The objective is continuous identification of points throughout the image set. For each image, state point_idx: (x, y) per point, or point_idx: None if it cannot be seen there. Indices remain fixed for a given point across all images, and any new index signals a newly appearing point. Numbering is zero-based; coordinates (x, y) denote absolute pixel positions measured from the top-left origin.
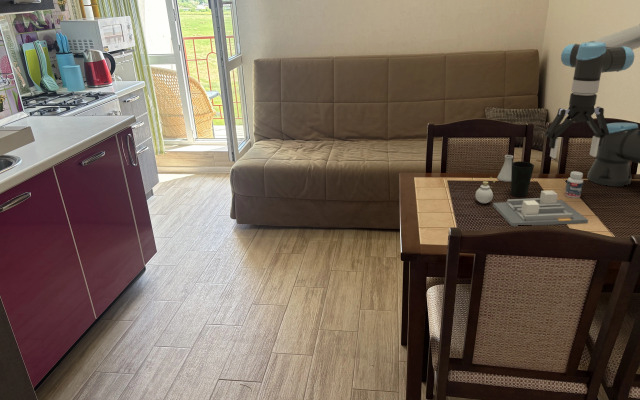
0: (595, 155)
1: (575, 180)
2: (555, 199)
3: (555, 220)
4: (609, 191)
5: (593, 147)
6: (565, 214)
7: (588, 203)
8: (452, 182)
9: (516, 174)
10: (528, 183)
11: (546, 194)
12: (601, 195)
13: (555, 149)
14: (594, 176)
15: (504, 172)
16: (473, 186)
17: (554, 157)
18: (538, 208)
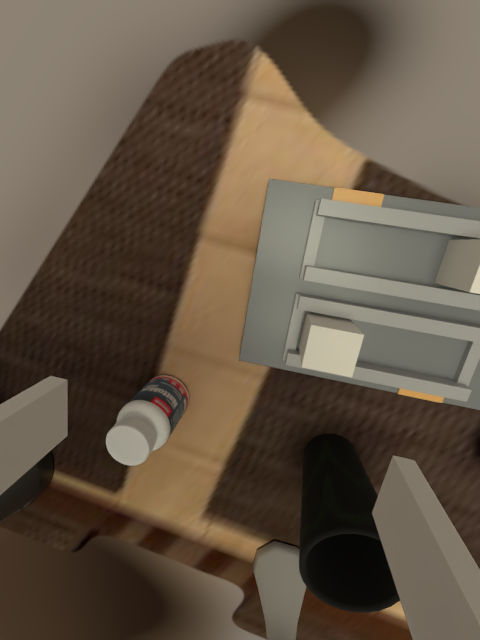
0: (48, 383)
1: (151, 416)
2: (315, 319)
3: (394, 203)
4: None
5: (3, 453)
6: (353, 205)
7: (159, 327)
8: None
9: None
10: (325, 468)
11: (361, 335)
12: (84, 367)
13: (460, 546)
14: (35, 467)
15: (299, 589)
16: None
17: (410, 466)
18: (477, 240)
